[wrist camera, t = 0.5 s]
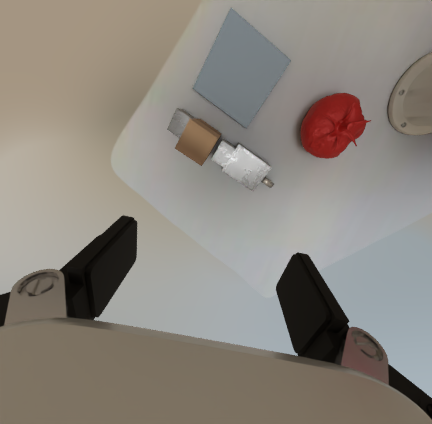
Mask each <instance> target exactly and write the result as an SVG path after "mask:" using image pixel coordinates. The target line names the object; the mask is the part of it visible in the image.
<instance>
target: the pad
mask: <svg viewBox="0 0 432 424" xmlns="http://www.w3.org/2000/svg"><path fill="white" fill-rule="evenodd" d="M290 62H291V60H290V59H289V58H288V57H287V56H286V55H284V54H283V53H282V52H281V51H280V50H279V49H278V48H276V47H275V46H274V45H273V44H272V43H271V42H270V41H268V40H267V39H266V38H265V37H264V36H263V35H262V34H261V33H259V32H258V31H257V30H256V29H255V28H254V27H253V26H251V25H250V24H249V23H248V22H247V21H246V20H245V19H243V18H242V17H241V16H240V15H239V14H238V13H237V12H236V11H234V10H233V9H232V8H230V11H229V13H228V15H227V17H226V19H225V21H224V23H223V25H222V27H221V30H220V32H219V34H218V36H217V38H216V40H215V42H214V44H213V47H212V49H211V51H210V53H209V55H208V57H207V59H206V61H205V64H204V66H203V68H202V70H201V72H200V74H199V76H198V78H197V81H196V83H195V85H194V87H193V89H194V90H195V91H197V92H198V93H199V94H201V95H202V96H203V97H205V98H206V99H207V100H209V101H210V102H211V103H213V104H214V105H216V106H217V107H218V108H220V109H221V110H222V111H224V112H225V113H226V114H228V115H229V116H230V117H232V118H233V119H234V120H236V121H237V122H238V123H240V124H241V125H243V126H244V127H245V128H247V127H248V125H249V124H250V122H251V121H252V119H253V118H254V116H255V115H256V113H257V112H258V110H259V109H260V107H261V106H262V104H263V103H264V101H265V100H266V98H267V97H268V95H269V94H270V92H271V91H272V89H273V87H274V86H275V84H276V83H277V81H278V80H279V78H280V77H281V75H282V74H283V72H284V71H285V69H286V68H287V66H288V65H289V63H290Z"/></svg>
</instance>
